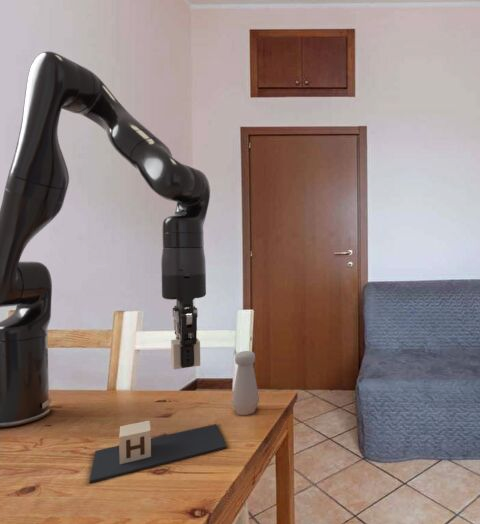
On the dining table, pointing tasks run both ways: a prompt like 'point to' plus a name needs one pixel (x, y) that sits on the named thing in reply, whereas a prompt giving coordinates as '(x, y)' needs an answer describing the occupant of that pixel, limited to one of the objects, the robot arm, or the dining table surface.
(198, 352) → the beige cube block
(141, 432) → the beige rounded cube
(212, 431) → the word mat
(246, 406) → the salt shaker
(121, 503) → the dining table surface
